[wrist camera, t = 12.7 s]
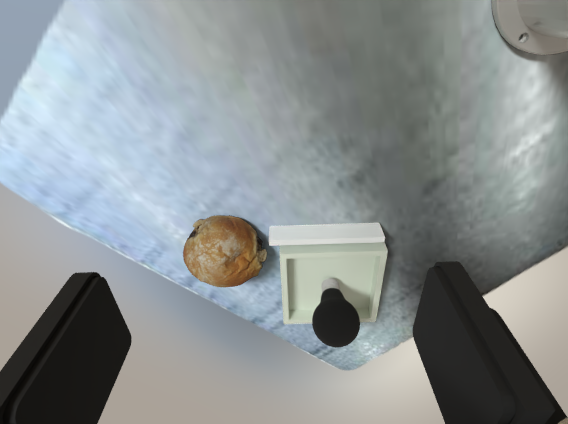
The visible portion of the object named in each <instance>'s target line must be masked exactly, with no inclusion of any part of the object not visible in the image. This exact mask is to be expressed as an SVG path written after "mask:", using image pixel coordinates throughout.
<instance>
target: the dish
mask: <svg viewBox="0 0 568 424" xmlns="http://www.w3.org/2000/svg"><path fill="white" fill-rule="evenodd" d="M387 253H388V250H387V248H386V245H385V243H384V242H377V243H344V244H310V245H280V268H281V286H282V303H283V320H284V324H308V323H312V317H313V313H314V311H315V309H316V307H317V306H318V305H319V304H320V301H321V295H322V287H321V286H322V282H323V281H324V280H326V279H329V278H333V279H335V280H337V281H338V282H339V286H340V291H341V292H342V294H343V296H344V298H345V300H346V301H348V302H350V303H351V304H352V305H353V306H354V308H355V309H356V310H357V313H358V315H359V319H360V322H376V317H377V311H378V305H379V300H380V294H381V288H382V282H383V276H384V270H385V264H386V259H387Z"/></svg>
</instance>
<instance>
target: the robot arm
mask: <svg viewBox="0 0 568 424" xmlns="http://www.w3.org/2000/svg"><path fill="white" fill-rule="evenodd" d="M492 12H493V16H494V20H495V24H496V26H497V28H498V30H499V32H500V34H501V35H502V36H503V37H504V39H505V40H506V41H507V42H508V43H509V44H511V45H512V46H514V47H515V48H517V49H519V50H522V51H525V52H528V53H533V54H538V55H553V54H558V53H563V52H567V51H568V0H492ZM519 37H520V38H519ZM413 337H414V341H415V343H416V346H417V349H418V351H419V354H420V357H421V360H422V362H423V365H424V367H425V370H426V373H427V376H428V378H429V381H430V384H431V386H432V389H433V392H434V394H435V397H436V400H437V403H438V405H439V408H440V411H441V413H442V416H443V419H444V421H445V424H568V418H567V416H566V415H565V413H564V412H563V410H562V409H561V407H560V406H559V404H558V402H557V401H556V400H555V398H554V396H553V395H552V393H551V392H550V390H549V389H548V388H547V386H546V384H545V383H544V381H543V380H542V378H541V377H540V375H539V374H538V372H537V371H536V370H535V368H534V366H533V365H532V363H531V362H530V360H529V359H528V357H527V356H526V354H525V353H524V351H523V350H522V349H521V347H520V345H519V344H518V342H517V341H516V339H515V338H514V336H513V335H512V333H511V332H510V330H509V329H508V327H507V325H506V324H505V322H504V321H503V319H502V318H501V317H500V315H499V314H498V313H497V312H496V311H495V310H493V309H491V308H489V306H488V305H487V303H486V302H485V300H484V298H483V297H482V295H481V294H480V292H479V291H478V289H477V288H476V286H475V285H474V283H473V281H472V280H471V278H470V277H469V275H468V274H467V272H466V271H465V269H464V267H463V266H462V265H461V263H459V262H437V263H436V264H435V265H434V267H432V268H429V270H428V273H427V277H426V280H425V284H424V288H423V292H422V295H421V299H420V303H419V307H418V310H417V314H416V318H415V322H414V325H413ZM130 346H131V334H130V332H129V329H128V327H127V325H126V323H125V321H124V319H123V316H122V314H121V312H120V310H119V308H118V305H117V303H116V301H115V299H114V297H113V294H112V292H111V290H110V288H109V286H108V283H107V281H106V279H105V278H104V277H101V276H100V275H99V274H98V273H96V272H88V273H75V274H73V275H72V276H71V277H70V278H69V280H68V281H67V282H66V284H65V285H64V286H63V288H62V289H61V290H60V292H59V293H58V294H57V296H56V297H55V298H54V300H53V301H52V303H51V304H50V305H49V306H48V308H47V309H46V310H45V312H44V313H43V314H42V316H41V317H40V318H39V320H38V321H37V323H36V324H35V325H34V327H33V328H32V329H31V331H30V332H29V333H28V335H27V336H26V337H25V339H24V340H23V342H22V343H21V344H20V346H19V347H18V348H17V350H16V351H15V352H14V354H13V355H12V356H11V358H10V359H9V360H8V362H7V363H6V364H5V366H4V367H3V369H2V370H1V371H0V424H97V423H98V420H99V419H100V416H101V414H102V411H103V409H104V407H105V404H106V402H107V400H108V397H109V395H110V393H111V390H112V388H113V386H114V383H115V381H116V379H117V376H118V374H119V372H120V370H121V367H122V365H123V362H124V360H125V358H126V355H127V353H128V351H129V349H130Z"/></svg>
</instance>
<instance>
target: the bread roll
mask: <svg viewBox="0 0 568 424" xmlns="http://www.w3.org/2000/svg"><path fill="white" fill-rule="evenodd" d="M193 227H195V229H194V230H193V232H192V233H191V234H190V236H189V238H188V239H187V241H186V243H185V246H184V251H183V257H184V262H185V264H186V266H187V268H188V269H189V271H190V272H191V273H192V275H194V276H195V277H196V278H198V279H199V280H200V281H202V282H205V283H208V284H210V285H213V286H216V287H233V286H238V285H241V284H243V283H244V282H246V281H247V280H249V279H251V278H252V277H255V276H257V275H258V273H259V271H260V269H261V268H262V267H263V266H262V262H264V261H265V260H266V255H267V252H266V249H262V250H261V246H262V241H261V239H259V238H258V236H257V232H256V231H255V230H254V229H253V228H252V227H251V225H249V224H248V223H246V222H245V221H243V220H242V219H240V218H236V217H232V216H230V215H229V216H219V215H217V216H211V217H209V218H207V219H205V220H202V219H200V220H198V221H197V222H195V223H194V225H193Z"/></svg>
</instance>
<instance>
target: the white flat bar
mask: <svg viewBox="0 0 568 424" xmlns="http://www.w3.org/2000/svg"><path fill="white" fill-rule="evenodd" d="M384 241H385V236H384V233H383V231H382V228H381V226H380V224H379V223H352V224H320V225H288V226H270V228H269V246H277V245H310V244H344V243H377V242H384Z"/></svg>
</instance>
